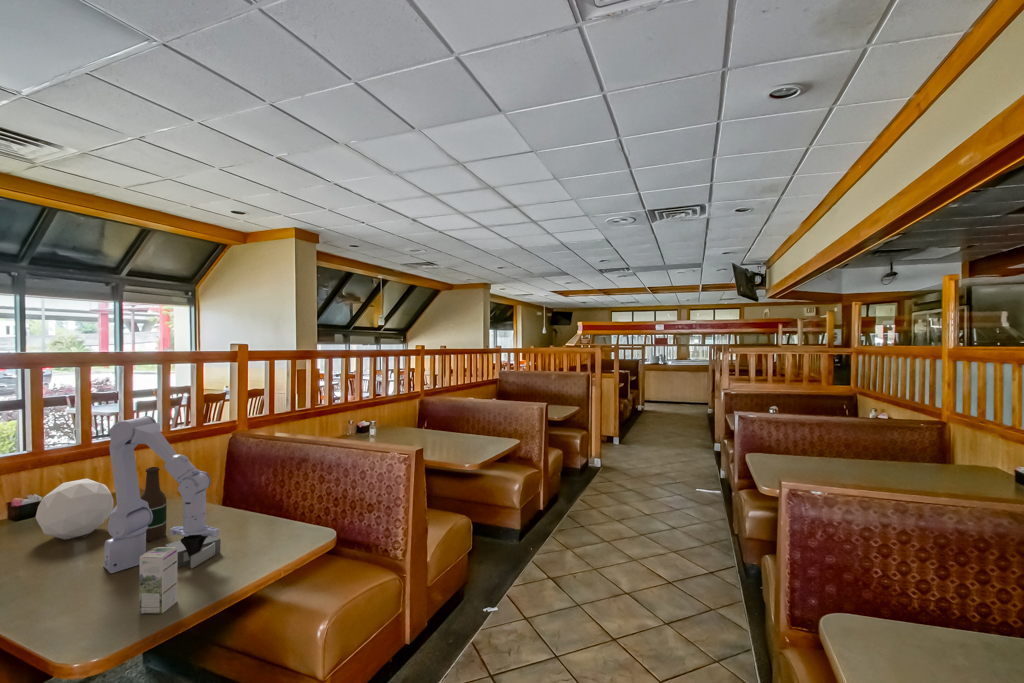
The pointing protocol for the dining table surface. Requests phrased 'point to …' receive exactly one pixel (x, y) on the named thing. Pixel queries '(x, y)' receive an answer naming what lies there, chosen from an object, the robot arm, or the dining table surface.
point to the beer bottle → (155, 505)
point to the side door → (202, 555)
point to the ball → (74, 509)
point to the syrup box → (158, 580)
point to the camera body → (182, 552)
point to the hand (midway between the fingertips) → (194, 559)
